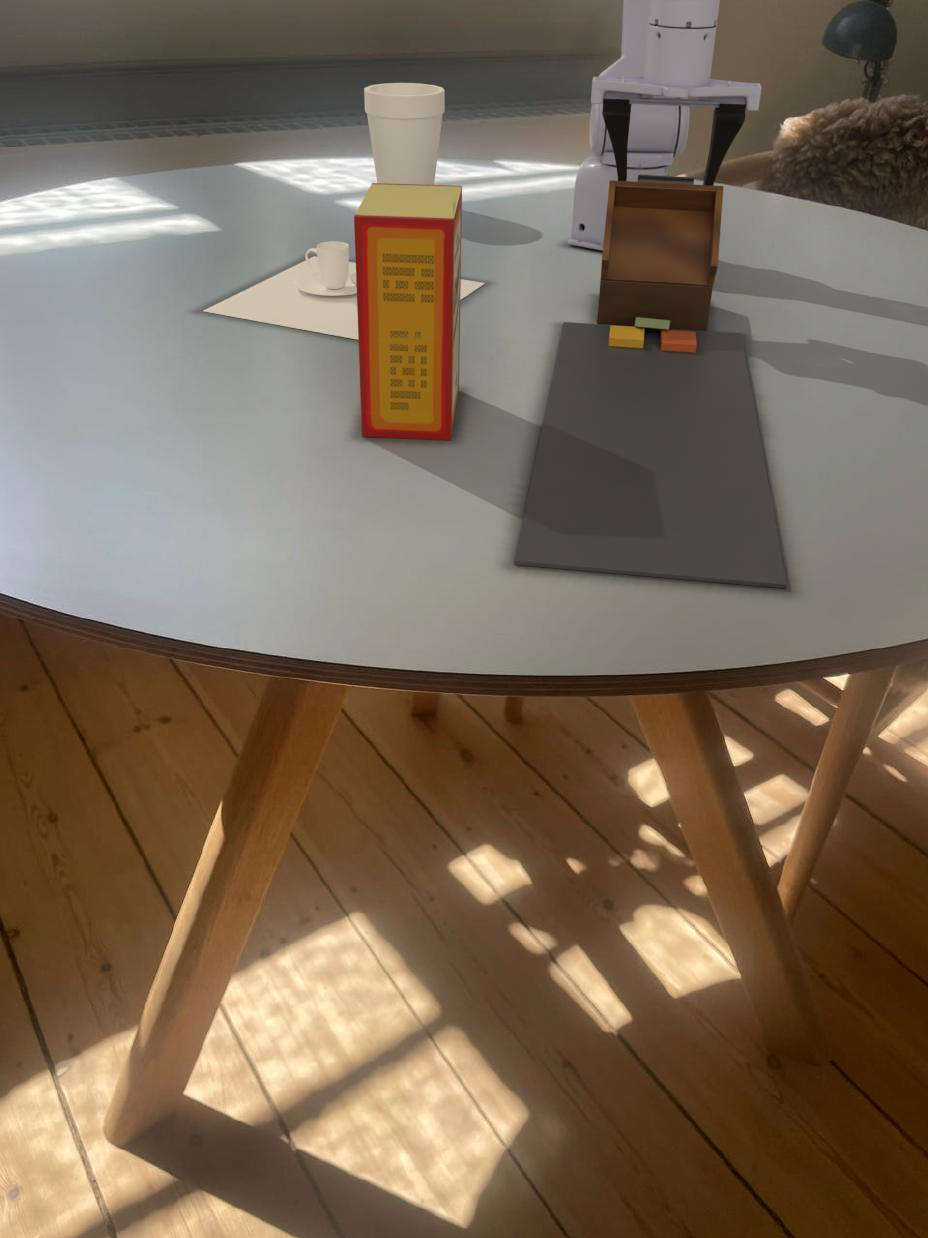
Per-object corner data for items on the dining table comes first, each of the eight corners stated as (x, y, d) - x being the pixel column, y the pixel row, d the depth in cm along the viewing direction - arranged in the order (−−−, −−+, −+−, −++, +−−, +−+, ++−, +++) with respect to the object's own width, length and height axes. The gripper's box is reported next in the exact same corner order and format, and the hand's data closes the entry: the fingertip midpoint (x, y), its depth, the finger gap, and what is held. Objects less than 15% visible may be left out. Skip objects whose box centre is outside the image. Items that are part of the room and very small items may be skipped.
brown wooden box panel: (706, 330, 102) (713, 286, 100) (596, 323, 103) (600, 280, 101) (703, 302, 109) (709, 260, 106) (600, 296, 110) (604, 254, 107)
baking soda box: (377, 386, 90) (372, 177, 81) (459, 390, 89) (462, 180, 81) (362, 436, 82) (353, 210, 73) (450, 440, 82) (453, 213, 73)
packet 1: (644, 327, 99) (643, 335, 100) (610, 324, 100) (609, 333, 100) (644, 339, 97) (643, 348, 97) (609, 337, 97) (608, 346, 97)
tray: (713, 286, 100) (717, 266, 97) (600, 280, 101) (601, 259, 98) (720, 186, 102) (725, 163, 99) (610, 181, 103) (611, 158, 100)
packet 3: (668, 329, 98) (670, 320, 98) (634, 326, 99) (635, 316, 98) (669, 329, 101) (670, 320, 101) (636, 326, 102) (637, 316, 101)
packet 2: (695, 331, 98) (694, 340, 99) (661, 329, 99) (660, 338, 99) (696, 344, 96) (695, 352, 96) (661, 341, 96) (660, 350, 97)
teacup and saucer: (397, 283, 112) (396, 241, 110) (357, 306, 106) (356, 262, 104) (321, 270, 115) (319, 230, 113) (279, 292, 109) (275, 250, 107)
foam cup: (366, 195, 141) (362, 82, 134) (438, 194, 142) (439, 82, 135) (370, 215, 134) (367, 96, 126) (447, 213, 135) (448, 95, 127)
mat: (563, 325, 103) (563, 321, 102) (740, 336, 101) (741, 333, 101) (514, 564, 67) (514, 560, 67) (785, 588, 65) (786, 584, 65)
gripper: (594, 27, 92) (582, 197, 100) (773, 33, 91) (747, 206, 98) (598, 17, 98) (586, 179, 106) (766, 23, 97) (742, 187, 104)
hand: (664, 191), depth 102 cm, fingers open, 7 cm apart
